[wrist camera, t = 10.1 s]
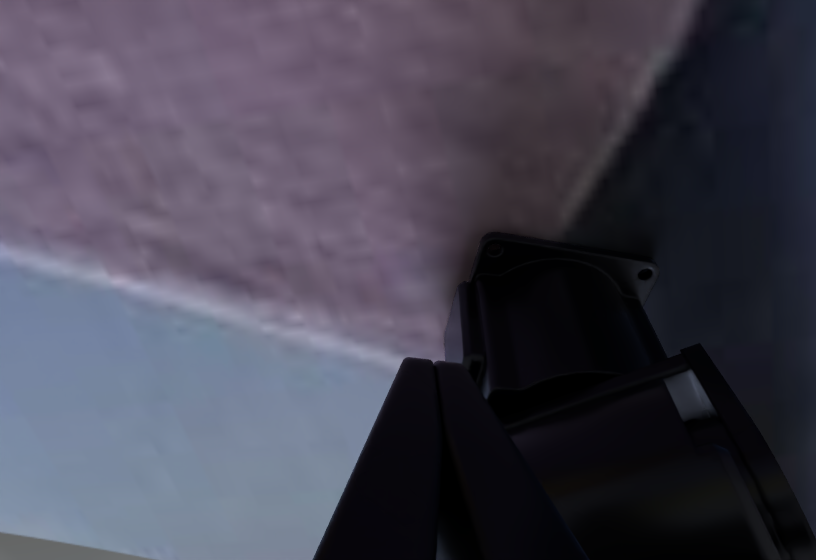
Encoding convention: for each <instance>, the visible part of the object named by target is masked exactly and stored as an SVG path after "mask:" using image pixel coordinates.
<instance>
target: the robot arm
mask: <svg viewBox="0 0 816 560" xmlns="http://www.w3.org/2000/svg"><path fill="white" fill-rule="evenodd" d="M492 244H498V245H500V247H499V248H498V249H497V250H490V249H488V248H489V246H490V245H492ZM643 269H648V271H647V272H645V273H643V274H638V273H639V272H640V271H641V270H643ZM659 273H660V272H659V268H658V266H657V264H656V263H655V261H654V260H653V259H652V258H649V257H645V256H639V255H633V254H627V253H620V252H614V251H608V250H602V249H596V248H590V247H584V246H578V245H572V244H566V243H560V242H554V241H548V240H542V239H536V238H530V237H524V236H518V235H512V234H506V233H500V232H491V233H488V234H486V235H485V236H484V237H482V239H481V241H480V244H479V247H478V251H477V254H476V257H475V261H474V264H473V268H472V271H471V275H470V278H469V282H467V281H464V282H463V283H461V284H460V285H458V287H457V290H456V294H455V297H454V301H453V305H452V308H451V312H450V315H449V319H448V323H447V326H446V330H445V334H444V342H445V361H436V362H435V363H434V364H433V362H432V361H431V360H429V359H420V358H411V357H407V358H405V359H404V360H403V362H402V364H401V366H400V368H399V370H398V373H397V375H396V377H395V379H394V381H393V384H392V386H391V388H390V390H389V392H388V395H387V397H386V399H385V401H384V403H383V406H382V408H381V410H380V412H379V414H378V417H377V419H376V421H375V423H374V425H373V428H372V430H371V432H370V434H369V436H368V439H367V441H366V443H365V445H364V448H363V450H362V452H361V454H360V456H359V459H358V461H357V463H356V465H355V467H354V470H353V472H352V474H351V476H350V478H349V481H348V483H347V485H346V487H345V489H344V492H343V494H342V496H341V498H340V500H339V503H338V505H337V507H336V509H335V511H334V514H333V516H332V518H331V520H330V522H329V525H328V527H327V529H326V531H325V533H324V536H323V538H322V540H321V542H320V545H319V547H318V549H317V551H316V553H315V556H314V558H313V560H816V539H815V536H814V534H813V532H812V530H811V528H810V526H809V523H808V521H807V519H806V517H805V515H804V513H803V511H802V509H801V507H800V505H799V503H798V501H797V499H796V497H795V495H794V493H793V491H792V489H791V487H790V485H789V483H788V481H787V480H786V478H785V476H784V474H783V472H782V470H781V468H780V466H779V465H778V463H777V461H776V459H775V457H774V455H773V454H772V452H771V450H770V448H769V447H768V445H767V443H766V442H765V440H764V438H763V436H762V435H761V433H760V431H759V430H758V428H757V427H756V425H755V424H754V422H753V420H752V419H751V417H750V416H749V414H748V413H747V412H746V410H745V409H744V407H743V406H742V404H741V403H740V401H739V400H738V398H737V397H736V395H735V394H734V392H733V391H732V390H731V388H730V387H729V385H728V384H727V382H726V381H725V379H724V378H723V376H722V375H721V373H720V372H719V370H718V369H717V367H716V366H715V365H714V363H713V362H712V360H711V359H710V357H709V356H708V354H707V353H706V351H705V350H704V348H703V347H702V345H701V344H700V343H698V344H695V345H693V346H690V347H687V348H684V349H681V350H680V351H681V354H678V355H676V356H673V357H670V358H667V355H666V353H665V351H664V349H663V347H662V345H661V343H660V341H659V339H658V337H657V335H656V333H655V331H654V329H653V327H652V325H651V323H650V321H649V319H648V317H647V315H646V313H645V310H644V308H643V306H644V304H645V302H646V300H647V298H648V296H649V294H650V292H651V290H652V288H653V286H654V284H655V282H656V280H657V278H658V276H659Z"/></svg>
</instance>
